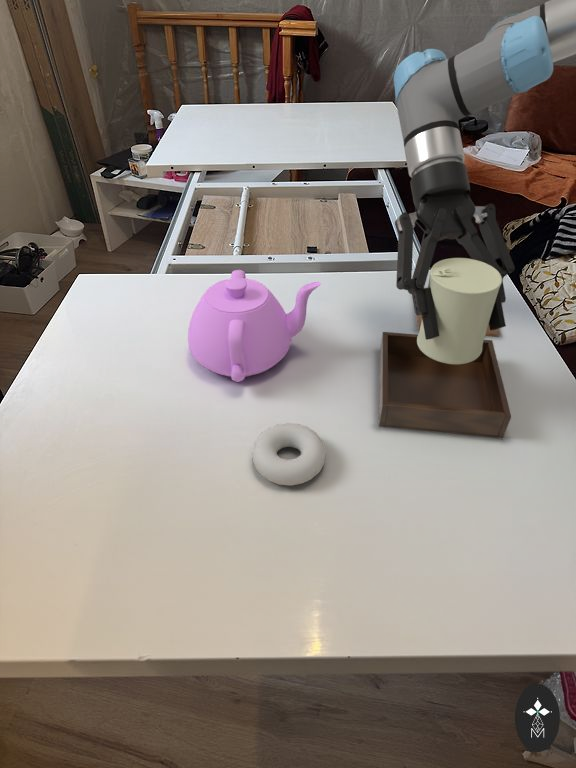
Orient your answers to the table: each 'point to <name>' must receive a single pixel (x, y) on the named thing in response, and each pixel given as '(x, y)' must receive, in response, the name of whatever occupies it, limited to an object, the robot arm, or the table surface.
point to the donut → (283, 468)
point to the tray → (440, 390)
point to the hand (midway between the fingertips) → (465, 333)
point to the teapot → (244, 326)
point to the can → (460, 309)
